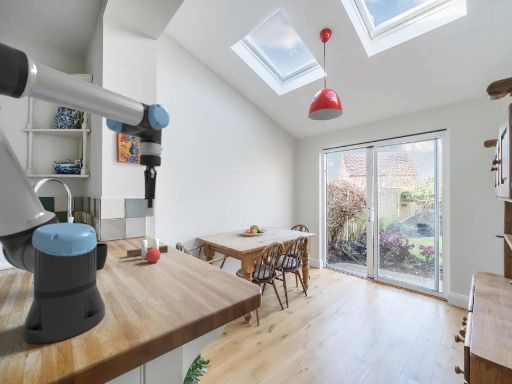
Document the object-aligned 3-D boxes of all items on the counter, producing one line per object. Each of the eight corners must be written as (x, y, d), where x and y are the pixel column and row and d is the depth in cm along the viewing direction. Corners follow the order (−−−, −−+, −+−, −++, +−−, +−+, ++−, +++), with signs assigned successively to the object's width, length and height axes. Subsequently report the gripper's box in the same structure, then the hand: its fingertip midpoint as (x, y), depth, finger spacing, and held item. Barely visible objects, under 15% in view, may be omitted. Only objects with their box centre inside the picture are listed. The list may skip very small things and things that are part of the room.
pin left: (147, 259, 108) (147, 240, 108) (141, 259, 107) (141, 241, 106) (146, 257, 110) (146, 239, 110) (141, 258, 109) (141, 240, 108)
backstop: (167, 252, 120) (167, 246, 120) (127, 257, 110) (127, 251, 110) (166, 251, 121) (166, 245, 121) (127, 256, 112) (127, 250, 112)
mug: (107, 262, 104) (106, 240, 103) (107, 269, 94) (107, 246, 94) (84, 265, 99) (83, 242, 99) (82, 273, 89) (81, 248, 89)
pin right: (159, 257, 111) (159, 239, 110) (153, 258, 109) (153, 239, 109) (158, 256, 113) (158, 238, 112) (152, 256, 111) (152, 239, 111)
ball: (158, 252, 108) (161, 263, 105) (144, 255, 105) (146, 266, 102) (159, 244, 105) (162, 255, 101) (145, 247, 101) (147, 259, 98)
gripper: (164, 154, 88) (162, 217, 87) (157, 158, 99) (156, 214, 98) (142, 151, 84) (140, 218, 83) (137, 156, 95) (136, 215, 94)
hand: (149, 216), depth 91 cm, fingers closed
